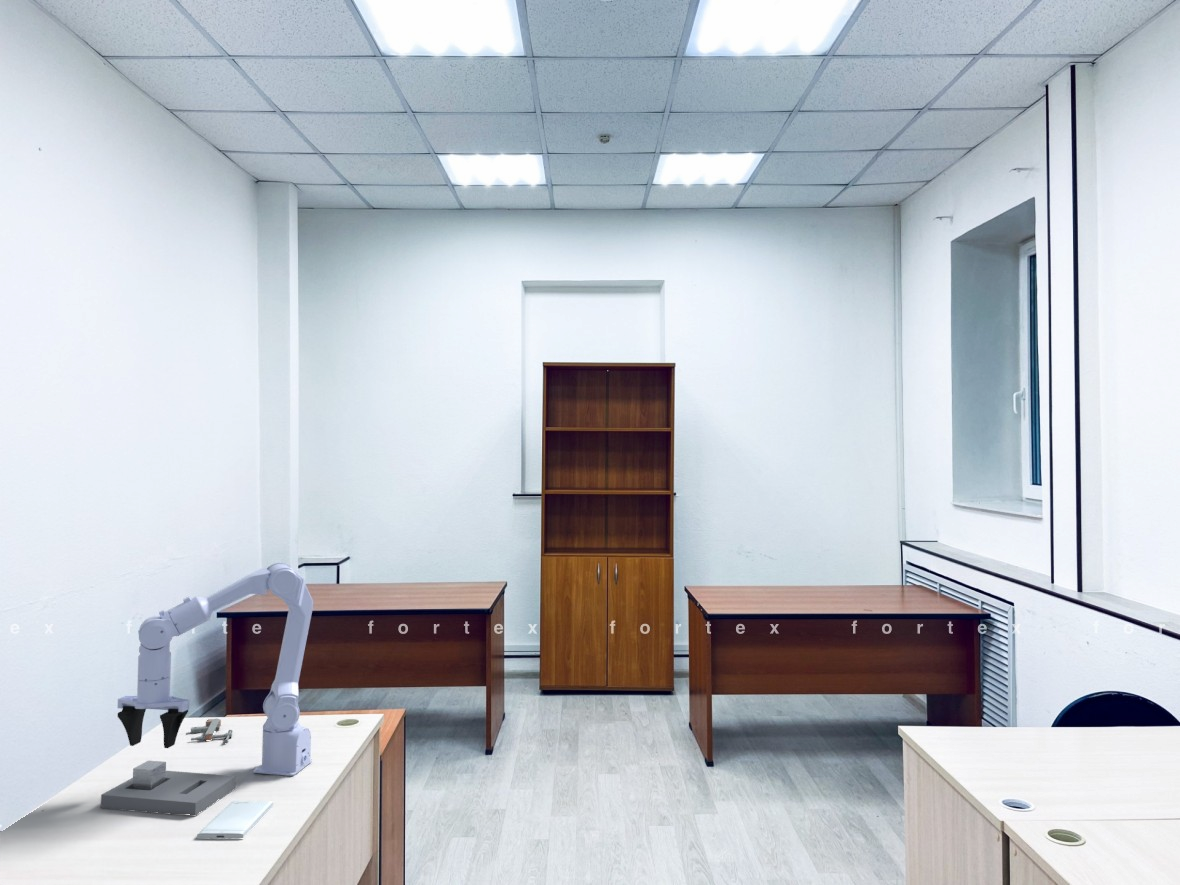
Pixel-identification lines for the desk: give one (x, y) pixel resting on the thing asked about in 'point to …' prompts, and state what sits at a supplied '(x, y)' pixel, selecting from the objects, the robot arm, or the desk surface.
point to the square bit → (149, 775)
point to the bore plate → (171, 794)
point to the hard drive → (236, 819)
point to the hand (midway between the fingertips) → (152, 745)
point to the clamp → (211, 731)
